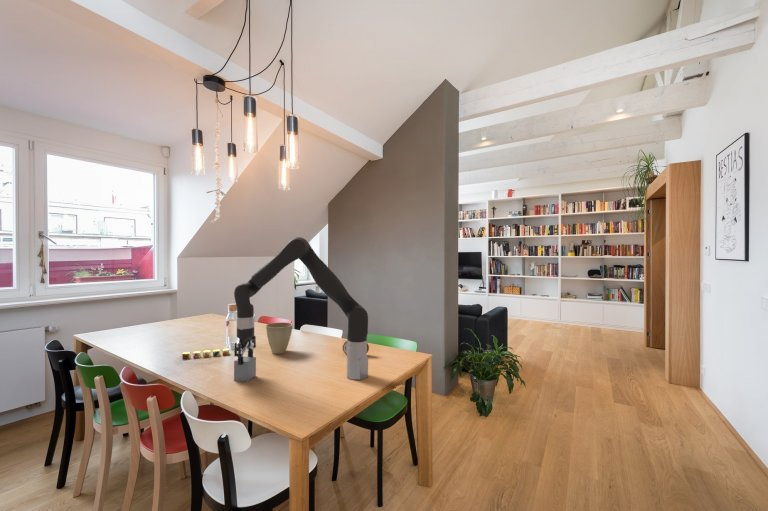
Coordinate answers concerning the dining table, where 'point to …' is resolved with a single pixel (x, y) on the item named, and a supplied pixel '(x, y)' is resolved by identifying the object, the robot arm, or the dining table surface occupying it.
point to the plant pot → (278, 336)
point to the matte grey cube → (245, 369)
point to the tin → (346, 347)
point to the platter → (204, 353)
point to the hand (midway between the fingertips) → (245, 361)
